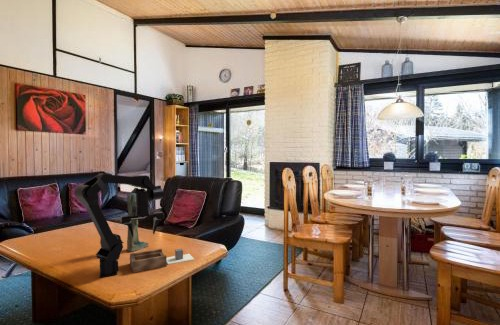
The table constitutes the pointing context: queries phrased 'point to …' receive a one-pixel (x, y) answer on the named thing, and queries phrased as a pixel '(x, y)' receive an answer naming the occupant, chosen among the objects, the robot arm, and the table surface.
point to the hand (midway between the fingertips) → (143, 235)
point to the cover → (179, 257)
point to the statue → (133, 227)
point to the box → (147, 260)
